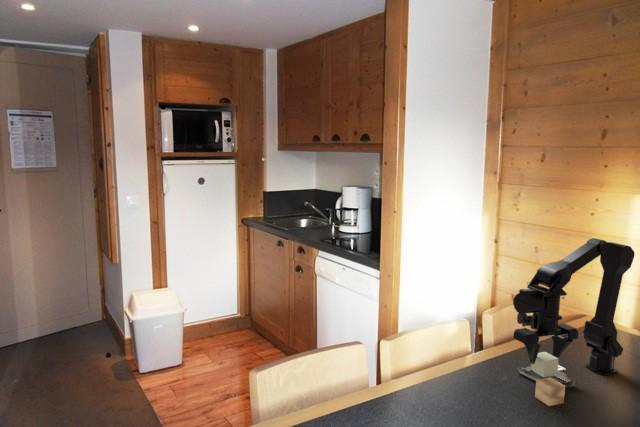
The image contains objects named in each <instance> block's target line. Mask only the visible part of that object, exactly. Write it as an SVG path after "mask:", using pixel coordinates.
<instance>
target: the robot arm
mask: <svg viewBox="0 0 640 427" xmlns="http://www.w3.org/2000/svg"><path fill="white" fill-rule="evenodd" d="M598 257H599V258H600V259H599V262H600V264H601V267H602V270H603V274H602V278H601V282H600V283H601V284H600V289H599V293H598V298H597V303H596V308H595V313H594V316H593V317H592V318H591V319H590V320H585V322H584V329H583V331H582V334H583V338H584V341H585V344H586V347H588V348H590V349H591V352H590V356H589V364H585V367H586V368H587V369H590V370H591V371H593V372H596V373H598V374H600V375H602V376H605V375H606V376H607V375H612V374H618V373H619V370H617V369H615V368H614V367H615V358H619V357H620V356H622V354H623V352H624V347H623V346H622V345H621V344H620V342H619V341H618V340H617V338H618V330H617V327H616V325H615V322H614V320H615V314H616V309H617V305H618V300H619V296H620V290H621V284H622V281H623V276H624V274H625V273H626V272H627V271H629V270H630V268H631V267H632V264H633V262H634V259H635V251H634V250H633V247H631V246H630V245H627V244H621V243H616V242H611V241H606V240H604V239H600V238H599V239H598V238H589V239H588V240H587V241H586V243H584V244H583V245H581V246H579V247H578V248H577V249H575V250H574V251H572V252H570V253H569V254H568V255H567V256H565V257H564V258H562V259H560V260H558V261H553V262H548V263H546V264H544V265H541V266H540V267H539V268H538V269H537V270H536V273H535V275H534V276H533V278H532V279H531V280H530V282H529V283H528V285H527V287H526V288H527V289H525V288H522V289H521V288H520V289H519V290H518V291H519V293H516V294H515V295H514V298H513V299H512V305H513V307H514V308H513V309H515V311H516V312H517V317H516V321H517V324H518V325H521V326H522V327H523V328H516V329H515V330H514V331H513V337H512V338H513V339H515V340H517V341H518V342H520V343H522V344H523V345H524V346H525V349H526V352H527V355H528V358H529V361H530V364H531V363H532V364H534V363H535V361H536V358H537V355H538V353H540V352H539V351H540V348H541V344H540V343H539V341H540V339H542V338H549V337H551V339H552V341H553V342H552V355H553V356H555V357H556V358H558V359H559V358H560V357H561V355H563V353H564V351H565V350H566V349H567V347H569V345H570V344H571V343H573V342H574V340H578V339H579V331H578V330H577V328H576V327H573V326H571V325H569V324H568V323H565V322H564V323H559V321H561V320H563V316H562V315H561V314H560V305H561V297H563V296H567V295H568V293H567V292H566V291H565V290H564V288H565V287H566V286H567V284H569V282H570V281H571V279H572V276H573V275H574V274H575V273H576V272H578V271H579V270H580V269H582V268H584V267H585V266H587V265H589V263H591V262H593V261H594V260H595V259H596V258H598ZM527 327H530V329H532V330H530V329H529V328H527ZM533 330H535V331H533Z"/></svg>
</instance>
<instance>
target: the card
mask: <svg viewBox="0 0 640 427" xmlns="http://www.w3.org/2000/svg"><path fill="white" fill-rule="evenodd" d="M563 370H564V371H566V370H567V368H565V367H564V366H561V365H560V364H558V371H559V372H563Z"/></svg>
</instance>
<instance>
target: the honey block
mask: <svg viewBox="0 0 640 427" xmlns="http://www.w3.org/2000/svg"><path fill="white" fill-rule="evenodd" d="M561 383H562V382H559V381H558V380H557V379H554V378H553V377H552V376H549V377H543V378H542V379H538V380H536V381H535V389H534V390H535V393H534V398H536V399H537V400H539V401H540V402H542V403H543V404H545V405H547V406H548V407H551V406H552V407H553V406H557V405H562V404H564V402H565V393H566V392H565V391H566V388H565V385H563V384H561Z"/></svg>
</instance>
